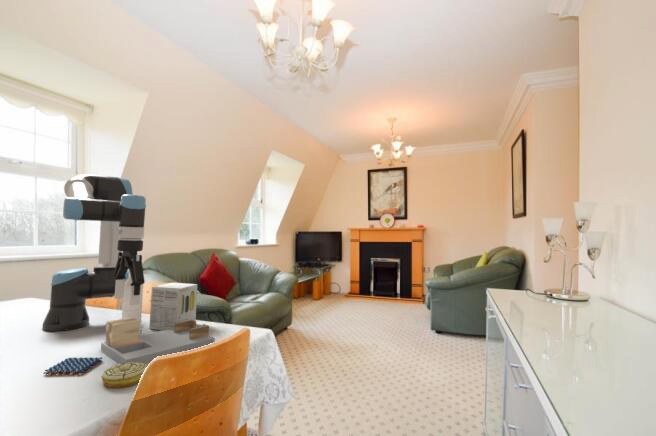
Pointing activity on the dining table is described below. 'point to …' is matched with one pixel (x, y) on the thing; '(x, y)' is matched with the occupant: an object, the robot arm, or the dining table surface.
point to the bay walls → (192, 329)
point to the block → (122, 331)
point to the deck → (154, 346)
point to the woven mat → (73, 366)
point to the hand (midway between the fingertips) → (126, 301)
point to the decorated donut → (123, 374)
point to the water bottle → (132, 310)
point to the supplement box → (172, 305)
